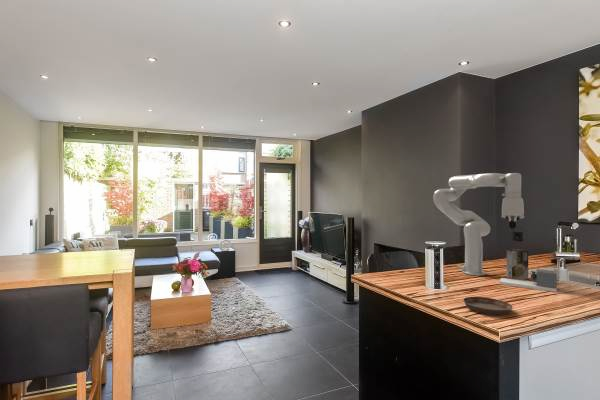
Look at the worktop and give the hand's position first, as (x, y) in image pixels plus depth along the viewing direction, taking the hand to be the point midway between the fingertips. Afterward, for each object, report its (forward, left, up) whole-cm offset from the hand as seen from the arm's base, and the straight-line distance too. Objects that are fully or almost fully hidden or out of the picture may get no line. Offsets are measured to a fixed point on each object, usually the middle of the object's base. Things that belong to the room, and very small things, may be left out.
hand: (512, 228), depth 183 cm
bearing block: (+15, -7, -28) cm, 32 cm away
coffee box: (+2, +12, -29) cm, 32 cm away
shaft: (+14, -7, -26) cm, 31 cm away
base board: (+7, -7, -29) cm, 31 cm away
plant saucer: (-6, -61, -30) cm, 68 cm away
